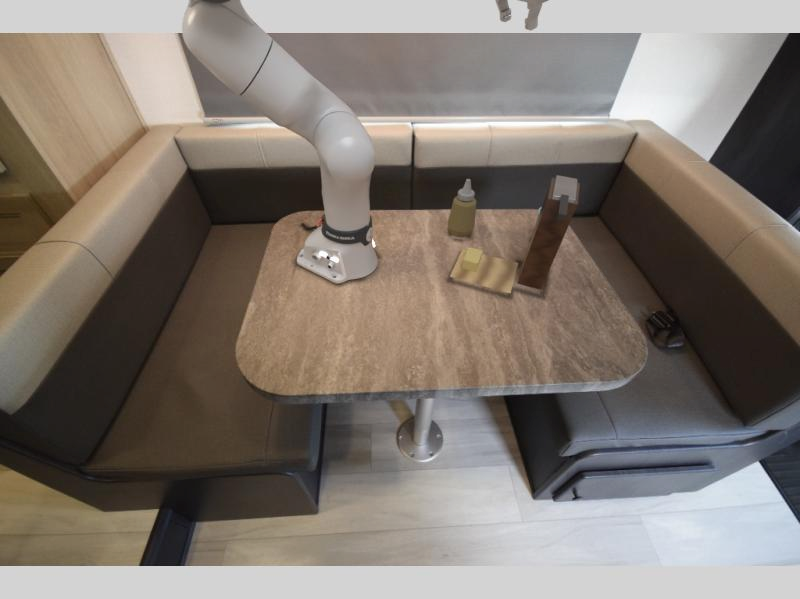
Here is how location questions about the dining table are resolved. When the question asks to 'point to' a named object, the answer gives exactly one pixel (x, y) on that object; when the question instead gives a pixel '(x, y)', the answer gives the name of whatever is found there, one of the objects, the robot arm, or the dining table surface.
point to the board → (487, 272)
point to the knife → (564, 194)
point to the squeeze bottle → (463, 212)
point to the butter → (472, 259)
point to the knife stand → (545, 240)
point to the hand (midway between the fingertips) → (517, 24)
